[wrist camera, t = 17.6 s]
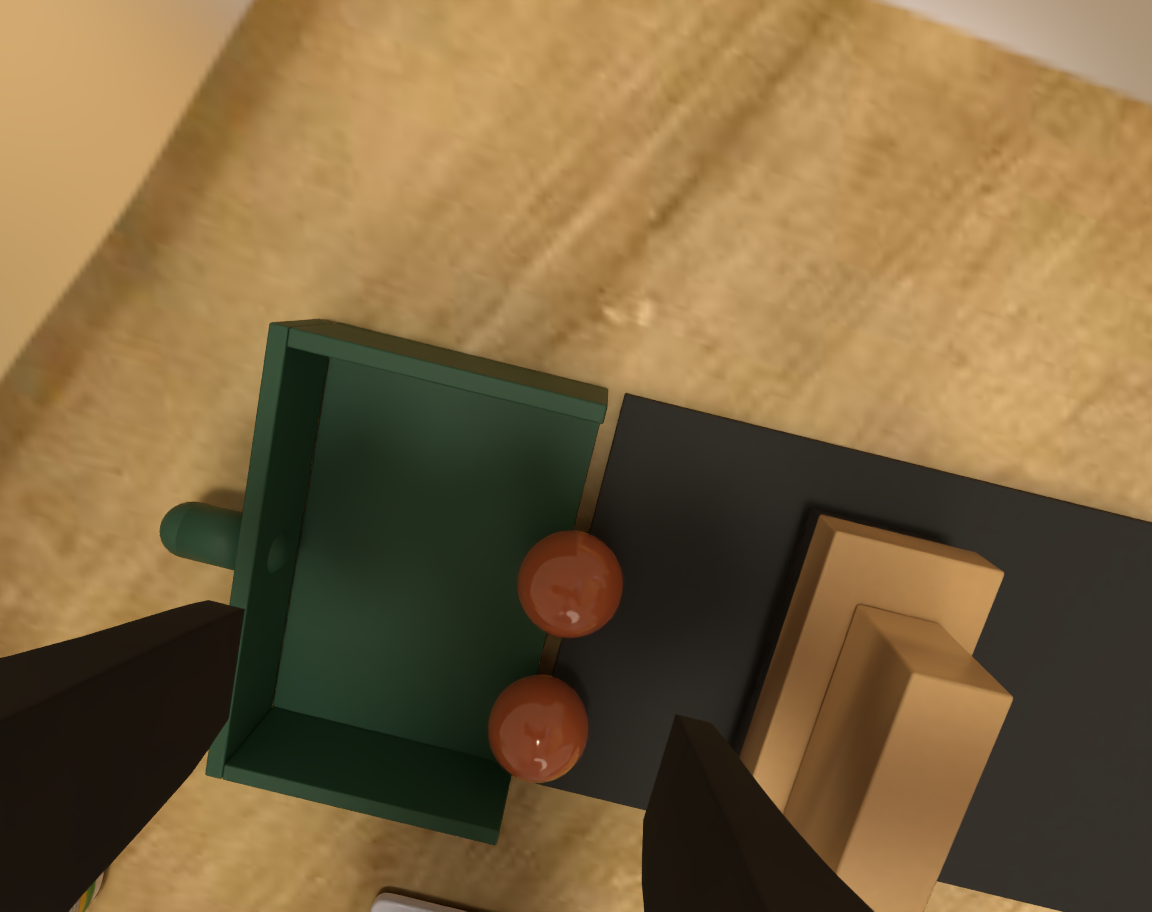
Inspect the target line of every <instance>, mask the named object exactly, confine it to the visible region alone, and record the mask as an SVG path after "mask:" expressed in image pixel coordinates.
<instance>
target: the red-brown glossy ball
mask: <svg viewBox="0 0 1152 912" xmlns="http://www.w3.org/2000/svg"><path fill="white" fill-rule="evenodd" d="M487 735H488V742H489V745H490V748H491V751H492V753H493V755H494V757H495V759H496V761H497V762H498V763H499V764H500V766H501V767H502V768H503V769H504V770H505V771H506V772H508V773H509V774H510V775H512V776H514V777H515V778H517V779H520V780H522V781H526V782H531V783H543V782H549V781H552V780H555V779H557V778H560V777H562V776H563V775H565V774H566V773H567V772H569V771H570V770H571V769H572V768H573V767H574V766H575V765H576V764H577V762H578V761H579V760H580V758H581V756H582V755H583V753H584V750H585V748H586V745H587V742H588V737H589V718H588V713H587V710H586V707H585V704H584V702H583V700H582V699H581V697H580V696H579V694H578V693H577V692H576V691H575V689H574V688H573V687H572V686H570V685H569V684H568V683H566V682H565V681H563V680H561V679H559V678H557V677H555V676H551V675H546V674H532V675H527V676H524V677H521V678H519V679H517V680H515V681H513V682H512V683H510V684H509V685H508V686H506V687H505V688H504V689H503V690H502V691H501V693H500V694H499V695H498V697H497V698H496V700H495V701H494V703H493V705H492V708H491V710H490V713H489V717H488V725H487Z"/></svg>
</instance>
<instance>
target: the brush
mask: <svg viewBox="0 0 1152 912" xmlns="http://www.w3.org/2000/svg"><path fill="white" fill-rule="evenodd" d="M1003 577H1004V572H1003V571H1002V570H1000V569H999V568H997V567H996V566H994V565H993V564H992V563H990V562H989V561H987V560H986V559H984V558H983V557H982V556H980V555H979V554H977V553H976V552H972V551H968V550H964V549H960V548H956V547H952V546H949V545H948V544H946V543H945V542H944V541H942V540H941V539H938V538H933V537H929V536H925V535H921V534H917V533H913V532H909V531H905V530H901V529H897V528H893V527H889V526H885V525H881V524H877V523H872V522H868V521H864V520H860V519H856V518H852V517H848V516H844V515H840V514H836V513H832V512H828V511H824V510H820V509H816V508H810V510H809V512H808V515H807V518H806V521H805V524H804V527H803V530H802V533H801V536H800V539H799V542H798V546H797V549H796V552H795V555H794V558H793V561H792V564H791V567H790V570H789V573H788V576H787V579H786V582H785V585H784V588H783V591H782V594H781V597H780V600H779V604H778V607H777V610H776V613H775V616H774V619H773V622H772V625H771V628H770V631H769V634H768V637H767V640H766V643H765V646H764V649H763V652H762V655H761V658H760V661H759V665H758V668H757V671H756V674H755V677H754V680H753V683H752V686H751V689H750V692H749V695H748V698H747V701H746V704H745V707H744V710H743V713H742V716H741V719H740V723H739V726H738V729H737V732H736V735H735V738H734V741H733V744H732V747H731V748H732V749H733V750H734V752H735V753H736V754H737V756H738V757H739V758H740V760H741V761H742V762H743V764H744V765H745V766H746V768H747V769H748V770H749V772H750V773H751V774H752V775H753V777H754V778H755V779H756V781H757V782H758V783H759V785H760V786H761V787H762V788H763V790H764V791H765V792H766V794H767V795H768V796H769V797H770V799H771V800H772V801H773V802H774V804H775V805H776V806H777V807H778V809H779V810H780V811H781V812H782V814H783V815H784V816H785V817H786V818H787V820H788V821H789V822H790V823H791V824H792V826H793V827H794V828H795V829H796V830H797V831H798V832H799V834H800V835H801V836H802V837H803V838H804V839H805V840H806V842H807V843H808V844H809V845H810V846H811V847H812V848H813V849H814V851H815V852H816V853H817V854H818V855H819V856H820V857H821V858H822V860H823V861H824V862H825V863H826V864H827V865H828V866H829V867H830V868H831V869H832V870H833V871H834V872H835V873H836V874H837V875H838V876H839V877H840V878H841V879H842V880H843V881H844V882H845V883H846V884H847V885H848V886H849V887H850V888H851V889H852V890H853V891H854V892H855V893H856V894H857V895H858V896H859V897H860V898H861V899H862V900H863V901H864V902H865V903H866V904H867V905H868V906H869V907H870V908H871V909H872V910H873V911H874V912H924V910H925V908H926V905H927V903H928V901H929V898H930V896H931V893H932V891H933V889H934V886H935V884H936V882H937V879H938V877H939V874H940V872H941V870H942V867H943V865H944V862H945V860H946V858H947V855H948V853H949V851H950V848H951V846H952V843H953V841H954V839H955V836H956V834H957V832H958V829H959V827H960V824H961V822H962V820H963V817H964V815H965V813H966V810H967V808H968V805H969V803H970V801H971V798H972V796H973V794H974V791H975V789H976V786H977V784H978V782H979V779H980V777H981V775H982V772H983V770H984V767H985V765H986V763H987V760H988V758H989V755H990V753H991V751H992V748H993V746H994V744H995V741H996V739H997V736H998V734H999V732H1000V729H1001V727H1002V725H1003V722H1004V720H1005V717H1006V715H1007V713H1008V710H1009V708H1010V706H1011V703H1012V701H1013V697H1012V695H1011V694H1010V693H1009V692H1008V691H1007V690H1006V689H1005V688H1004V687H1003V686H1002V685H1001V684H1000V683H999V682H998V681H997V680H996V679H995V678H994V677H993V676H991V675H990V674H989V673H988V672H987V671H986V670H985V669H984V668H983V667H982V666H981V665H980V664H979V663H978V662H977V661H976V660H975V659H974V658H973V657H972V654H973V652H974V649H975V647H976V644H977V642H978V639H979V637H980V634H981V632H982V629H983V627H984V624H985V622H986V619H987V617H988V614H989V612H990V609H991V607H992V604H993V602H994V599H995V597H996V594H997V592H998V589H999V587H1000V584H1001V582H1002V579H1003Z"/></svg>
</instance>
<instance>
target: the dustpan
mask: <svg viewBox="0 0 1152 912" xmlns="http://www.w3.org/2000/svg"><path fill="white" fill-rule="evenodd" d="M328 357H330V358H329V364H328V371H327V377H326V383H325V389H324V395H323V401H322V407H321V414H320V420H319V426H318V432H317V438H316V444H315V450H314V457H313V463H312V469H311V475H310V481H309V487H308V494H307V500H306V506H305V512H304V518H303V524H302V530H301V537H300V543H299V549H298V555H297V561H296V567H295V573H294V580H293V586H292V592H291V598H290V604H289V610H288V616H287V623H286V629H285V635H284V641H283V647H282V653H281V659H280V666H279V672H278V678H277V684H276V690H275V696H274V702H273V708H272V701H273V695H274V689H275V683H276V677H277V671H278V665H279V658H280V652H281V646H282V640H283V634H284V628H285V621H286V615H287V609H288V603H289V597H290V591H291V584H292V578H293V572H294V566H295V560H296V554H297V548H298V541H299V535H300V529H301V523H302V517H303V511H304V504H305V498H306V492H307V486H308V480H309V474H310V467H311V461H312V455H313V449H314V443H315V437H316V430H317V424H318V418H319V412H320V406H321V400H322V394H323V387H324V381H325V375H326V369H327V363H328ZM607 403H608V389H607V388H603V387H599V386H595V385H591V384H587V383H583V382H578V381H574V380H570V379H566V378H562V377H558V376H554V375H550V374H546V373H542V372H538V371H534V370H530V369H526V368H522V367H518V366H514V365H509V364H505V363H501V362H497V361H493V360H489V359H485V358H481V357H477V356H473V355H469V354H465V353H461V352H457V351H453V350H449V349H445V348H440V347H436V346H432V345H428V344H424V343H420V342H416V341H412V340H408V339H404V338H400V337H396V336H392V335H388V334H384V333H380V332H376V331H371V330H367V329H363V328H359V327H355V326H351V325H347V324H343V323H332V322H329V321H325V320H321V319H312V320H298V321H284V322H272V323H270V324H269V331H268V338H267V345H266V352H265V359H264V366H263V373H262V380H261V387H260V394H259V401H258V408H257V415H256V422H255V429H254V436H253V443H252V450H251V457H250V465H249V472H248V479H247V486H246V493H245V500H244V507H243V513H242V512H238V511H234V510H230V509H226V508H221V507H217V506H213V505H209V504H205V503H201V502H186V503H182V504H179V505H177V506H175V507H174V508H172V509H171V510H170V511H169V512H168V513H167V514H166V515H165V516H164V518H163V520H162V522H161V526H160V537H161V541H162V543H163V544H164V546H165V547H166V548H167V549H168V550H169V551H170V552H171V553H173V554H174V555H176V556H179V557H182V558H186V559H190V560H194V561H198V562H203V563H207V564H211V565H215V566H219V567H223V568H227V569H231V570H234V577H233V584H232V591H231V598H230V606H234V607H238V608H243V609H245V612H244V619H243V626H242V633H241V639H240V646H239V653H238V660H237V666H236V673H235V680H234V687H233V693H232V700H231V707H230V714H229V719H228V721H227V722H226V724H225V725H224V727H223V728H222V730H221V731H220V733H219V734H218V736H217V737H216V739H215V740H214V742H213V743H212V745H211V746H210V748H209V752H208V759H207V766H206V773H205V774H206V775H207V776H211V777H215V778H219V779H221V778H222V777H223V779H224V780H227V781H231V782H236V783H240V784H244V785H248V786H252V787H256V788H260V789H264V790H269V791H273V792H277V793H281V794H285V795H289V796H293V797H297V798H302V799H306V800H310V801H314V802H318V803H322V804H326V805H330V806H335V807H339V808H343V809H347V810H351V811H355V812H359V813H363V814H368V815H372V816H376V817H380V818H384V819H388V820H392V821H396V822H401V823H405V824H409V825H413V826H417V827H421V828H425V829H429V830H434V831H438V832H442V833H446V834H450V835H454V836H458V837H462V838H467V839H471V840H475V841H479V842H483V843H487V844H491V845H496V844H497V841H498V837H499V833H500V829H501V824H502V819H503V814H504V809H505V805H506V800H507V795H508V790H509V785H510V781H511V776H512V775H510V774H509V773H508V772H506V771H505V770H504V769H503V768H502V767H501V766H500V764H499V763H498V762H497V761H496V759H495V757H494V755H493V753H492V751H491V748H490V745H489V742H488V735H487V725H488V717H489V713H490V710H491V708H492V705H493V703H494V701H495V700H496V698H497V697H498V695H499V694H500V693H501V691H502V690H503V689H504V688H505V687H506V686H508V685H509V684H510V683H512V682H513V681H515V680H517V679H519V678H521V677H524V676H527V675H532V674H537V671H538V667H539V663H540V659H541V655H542V651H543V647H544V643H545V639H546V635H547V633H545V632H544V631H542V630H540V629H539V628H538V627H537V626H535V625H534V624H533V623H532V622H531V621H530V620H529V618H528V617H527V616H526V614H525V613H524V611H523V609H522V607H521V604H520V602H519V598H518V594H517V575H518V570H519V567H520V564H521V562H522V560H523V558H524V556H525V555H526V553H527V552H528V550H529V549H530V548H531V547H532V546H533V545H534V544H535V543H536V542H537V541H539V540H540V539H541V538H543V537H545V536H547V535H549V534H552V533H554V532H558V531H563V530H573V528H574V524H575V520H576V516H577V512H578V508H579V504H580V500H581V496H582V492H583V488H584V484H585V481H586V477H587V473H588V469H589V465H590V461H591V457H592V453H593V449H594V445H595V441H596V437H597V433H598V429H599V425H600V424H603V422H604V419H605V415H606V411H607Z"/></svg>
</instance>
